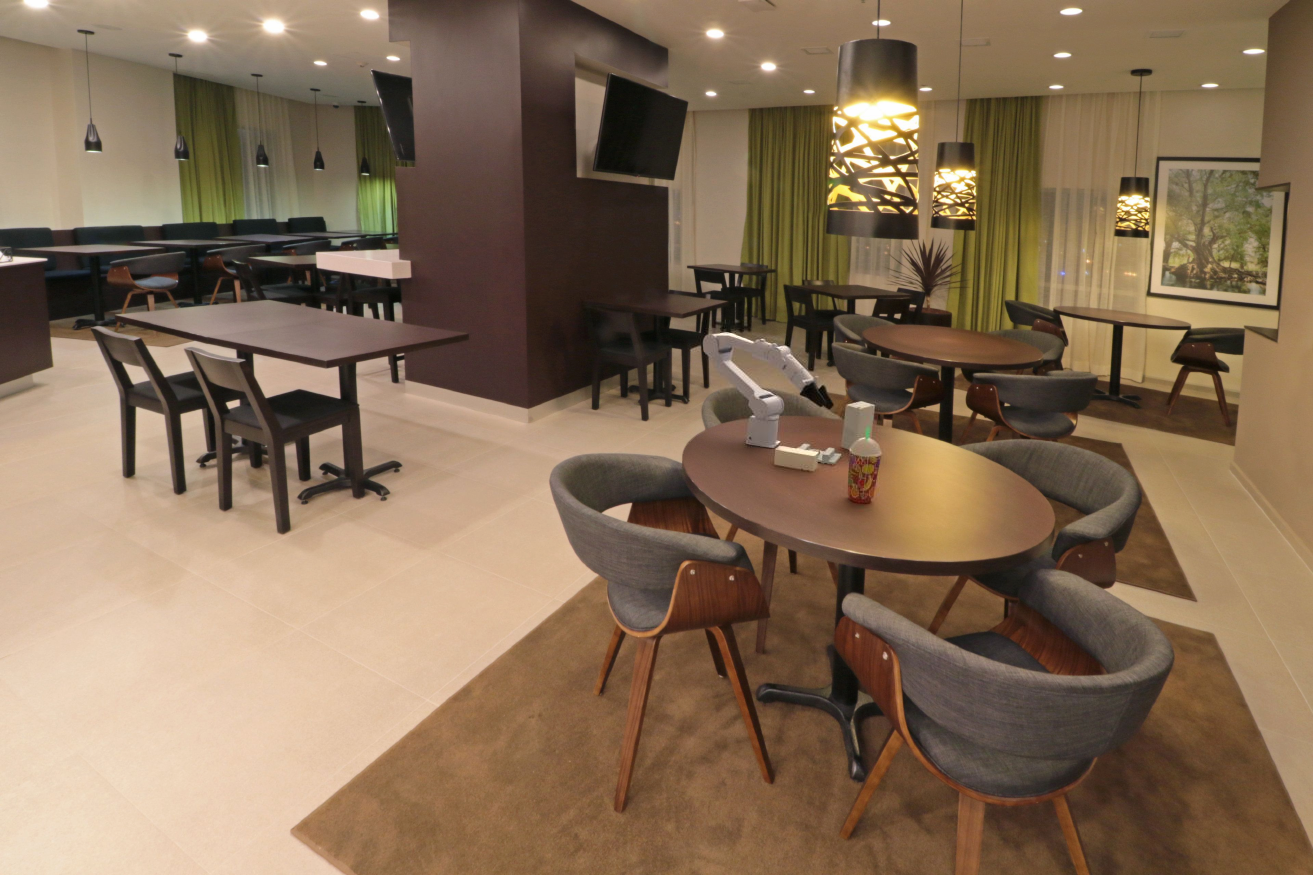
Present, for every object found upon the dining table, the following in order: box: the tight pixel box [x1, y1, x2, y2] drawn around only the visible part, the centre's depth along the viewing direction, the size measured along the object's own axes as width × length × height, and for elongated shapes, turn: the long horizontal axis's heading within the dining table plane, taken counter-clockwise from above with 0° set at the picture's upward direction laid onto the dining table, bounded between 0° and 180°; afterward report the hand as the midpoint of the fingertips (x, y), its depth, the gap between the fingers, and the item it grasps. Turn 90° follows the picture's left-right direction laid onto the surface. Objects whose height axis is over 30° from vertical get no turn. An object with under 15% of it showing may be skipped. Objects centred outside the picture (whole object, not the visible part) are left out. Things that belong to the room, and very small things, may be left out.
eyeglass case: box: [773, 445, 819, 472], centre depth 237 cm, size 12×4×5 cm, turn 65°
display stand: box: [796, 443, 842, 466], centre depth 247 cm, size 14×10×3 cm
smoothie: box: [846, 428, 883, 504], centre depth 209 cm, size 8×8×20 cm
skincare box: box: [840, 400, 876, 451], centre depth 256 cm, size 8×6×15 cm
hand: (827, 406), depth 239 cm, fingers open, 7 cm apart
